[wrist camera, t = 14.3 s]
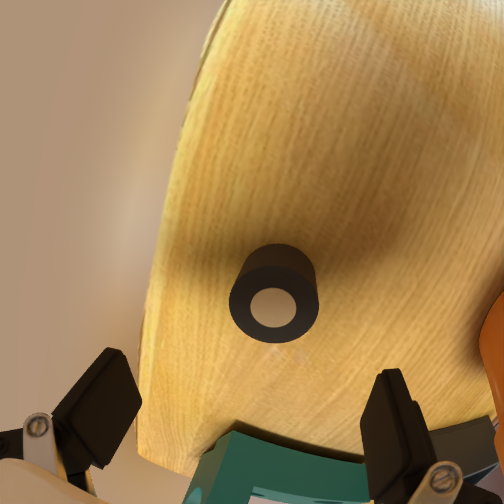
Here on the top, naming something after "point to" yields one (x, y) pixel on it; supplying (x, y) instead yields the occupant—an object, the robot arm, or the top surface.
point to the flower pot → (495, 365)
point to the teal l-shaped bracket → (273, 475)
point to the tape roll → (275, 294)
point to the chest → (468, 448)
